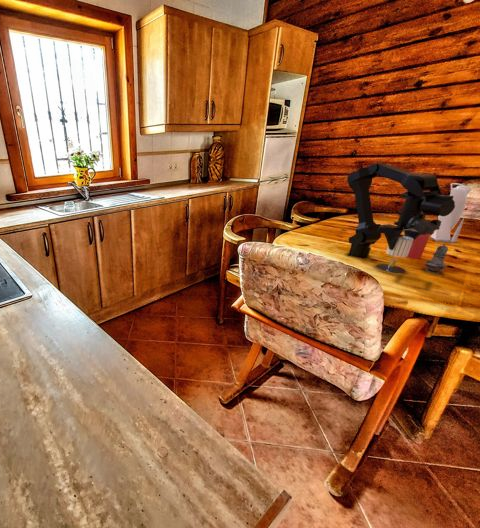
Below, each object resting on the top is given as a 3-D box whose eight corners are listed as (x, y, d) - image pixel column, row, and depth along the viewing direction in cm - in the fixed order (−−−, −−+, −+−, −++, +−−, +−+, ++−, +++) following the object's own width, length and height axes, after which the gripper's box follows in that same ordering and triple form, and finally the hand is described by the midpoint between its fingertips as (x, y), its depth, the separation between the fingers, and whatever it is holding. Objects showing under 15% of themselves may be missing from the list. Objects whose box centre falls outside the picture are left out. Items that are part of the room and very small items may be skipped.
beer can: (416, 260, 120) (427, 234, 116) (397, 255, 126) (406, 230, 121) (423, 257, 123) (434, 231, 118) (404, 252, 129) (413, 228, 124)
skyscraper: (433, 241, 139) (457, 184, 128) (425, 236, 146) (447, 181, 135) (456, 242, 136) (483, 184, 125) (446, 237, 143) (471, 181, 132)
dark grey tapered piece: (447, 275, 107) (460, 246, 102) (429, 274, 108) (441, 246, 104) (435, 269, 113) (447, 241, 108) (418, 268, 114) (429, 241, 109)
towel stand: (373, 269, 115) (376, 259, 113) (378, 263, 120) (382, 253, 118) (402, 276, 108) (406, 266, 107) (407, 269, 114) (411, 259, 112)
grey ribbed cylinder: (384, 254, 112) (389, 237, 109) (387, 250, 115) (393, 234, 113) (405, 258, 107) (412, 241, 104) (408, 254, 111) (415, 237, 108)
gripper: (414, 217, 96) (399, 258, 102) (459, 212, 98) (441, 253, 104) (382, 210, 106) (370, 248, 112) (424, 206, 108) (409, 243, 114)
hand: (398, 248), depth 110 cm, fingers closed on grey ribbed cylinder, 6 cm apart
